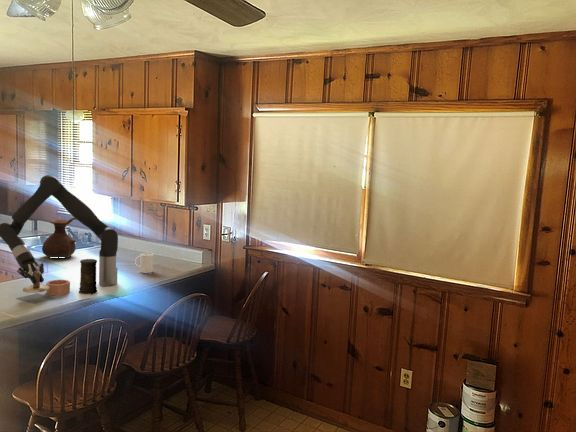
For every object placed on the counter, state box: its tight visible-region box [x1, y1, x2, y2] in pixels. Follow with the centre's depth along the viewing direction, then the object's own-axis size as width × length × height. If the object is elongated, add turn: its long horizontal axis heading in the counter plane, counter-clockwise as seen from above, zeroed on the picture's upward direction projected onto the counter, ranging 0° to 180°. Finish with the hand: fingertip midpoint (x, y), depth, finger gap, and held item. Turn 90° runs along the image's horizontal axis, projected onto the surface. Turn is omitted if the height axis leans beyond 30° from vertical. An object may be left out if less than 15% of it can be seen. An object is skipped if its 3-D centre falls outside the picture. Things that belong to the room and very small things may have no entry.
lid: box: [22, 272, 50, 294], centre depth 235 cm, size 12×12×9 cm
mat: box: [15, 292, 57, 305], centre depth 236 cm, size 12×15×1 cm
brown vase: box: [41, 216, 78, 258], centre depth 329 cm, size 22×22×30 cm
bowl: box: [45, 279, 71, 296], centre depth 248 cm, size 11×11×6 cm
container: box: [78, 258, 98, 295], centre depth 251 cm, size 9×9×18 cm
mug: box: [134, 252, 154, 273], centre depth 303 cm, size 12×8×12 cm
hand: (39, 282), depth 234 cm, fingers closed on lid, 3 cm apart
